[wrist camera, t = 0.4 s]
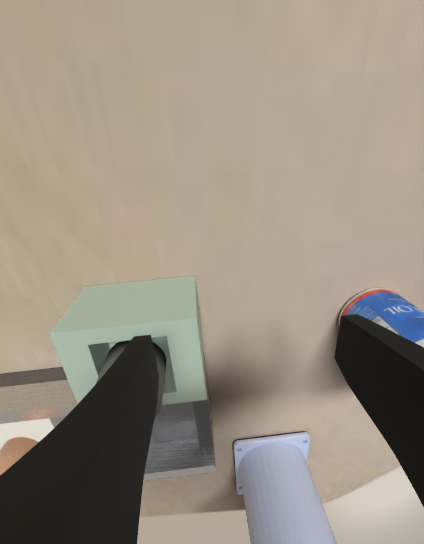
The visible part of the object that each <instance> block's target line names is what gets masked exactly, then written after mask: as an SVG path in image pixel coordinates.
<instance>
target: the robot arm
mask: <svg viewBox="0 0 424 544" xmlns="http://www.w3.org/2000/svg"><path fill="white" fill-rule="evenodd" d="M334 358H335V360H336V362H337V364H338V366H339V368H340V370H341V372H342V374H343V376H344V378H345V380H346V382H347V383H348V385H349V386H350V388H351V390H352V391H353V393H354V394H355V396H356V397H357V399H358V400H359V402H360V403H361V404H362V406H363V407H364V409H365V410H366V412H367V413H368V415H369V416H370V418H371V419H372V421H373V422H374V424H375V425H376V427H377V428H378V430H379V431H380V433H381V434H382V435H383V437H384V438H385V440H386V441H387V443H388V445H389V446H390V448H391V449H392V451H393V452H394V454H395V456H396V457H397V459H398V461H399V463H400V465H401V466H402V468H403V470H404V471H405V473H406V475H407V477H408V479H409V480H410V482H411V484H412V486H413V488H414V489H415V491H416V493H417V495H418V497H419V499H420V501H421V503H422V505H423V507H424V347H422V346H420V345H418V344H416V343H414V342H412V341H410V340H408V339H406V338H404V337H402V336H400V335H398V334H396V333H395V332H393V331H391V330H389V329H387V328H385V327H383V326H381V325H379V324H377V323H375V322H373V321H371V320H369V319H367V318H365V317H362V316H360V315H358V314H353V315H343V316H341V320H340V326H339V332H338V339H337V345H336V351H335V357H334ZM158 386H159V373H158V368H157V363H156V358H155V353H154V348H153V343H152V338H151V335H143V336H134V337H133V338H132V339H131V341H130V342H129V343H128V345H127V346H126V347H125V348H124V350H123V351H122V352H121V354H120V355H119V356H118V358H117V359H116V360H115V361H114V363H113V364H112V365H111V366H110V368H109V369H108V370H107V371H106V372H105V374H104V375H103V376H102V377H101V379H100V380H99V381H98V382H97V383H96V384H95V386H94V387H93V388H92V389H91V390H90V391H89V392H88V393H87V395H86V396H85V397H84V398H83V399H82V400H81V401H80V402H79V403H78V405H77V406H76V407H75V408H74V409H73V410H72V411H71V412H70V413H69V414H68V415H67V416H66V417H65V418H64V419H63V420H62V421H61V422H60V423H59V424H58V425H57V426H56V427H55V428H54V429H53V430H52V431H51V432H49V433H48V434H47V435H46V436H45V437H44V438H43V439H42V440H41V441H40V442H38V443H37V444H36V445H35V446H34V447H33V448H32V449H30V450H29V451H28V452H27V453H26V454H25V455H23V456H22V457H21V458H20V459H19V460H18V461H17V462H15V463H14V464H13V465H12V466H11V467H10V468H8V469H7V470H6V471H5V472H4V473H2V474H1V475H0V544H137V535H138V525H139V515H140V505H141V495H142V486H143V479H144V473H145V467H146V461H147V456H148V451H149V445H150V440H151V435H152V429H153V424H154V418H155V413H156V407H157V400H158ZM309 442H310V436H309V434H308V433H307V432H302V433H294V434H286V435H277V436H269V437H261V438H253V439H245V440H238V441H235V442H234V457H235V472H236V487H237V494H239V495H244V502H245V508H246V515H247V521H248V527H249V534H250V541H251V544H337V542H336V540H335V537H334V534H333V532H332V529H331V526H330V524H329V521H328V518H327V516H326V513H325V510H324V507H323V505H322V502H321V499H320V497H319V494H318V491H317V489H316V486H315V483H314V481H313V478H312V475H311V473H310V470H309V467H308V465H307V458H308V450H309Z"/></svg>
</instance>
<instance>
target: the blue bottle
mask: <svg viewBox="0 0 424 544" xmlns="http://www.w3.org/2000/svg"><path fill="white" fill-rule="evenodd" d="M353 314H358V315H360V316H362V317H365V318H367V319H369V320H371V321H373V322H375V323H377V324H379V325H381V326H383V327H385V328H387V329H389V330H391V331H393V332H395V333H396V334H398V335H400V336H402V337H404V338H406V339H408V340H410V341H412V342H414V343H416V344H418V345H420V346H422V347H424V312H423V311H421V310H420V309H418V308H417V307H415V306H414V305H412V304H411V303H410V302H408V301H407V300H405V299H404V298H402V297H401V296H400V295H398V294H396V293H395V292H393V291H391V290H388V289H384V288H373V289H369V290H365V291H363V292H361V293H359V294H357V295H355V296H354V297H353V298H352V299H350V300H349V301H348V302H347V303H346V305H345V306H344V307H343V309H342V311H341V313H340V316H339V326H340V320H341V316H343V315H353Z"/></svg>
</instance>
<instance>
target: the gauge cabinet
mask: <svg viewBox="0 0 424 544" xmlns="http://www.w3.org/2000/svg"><path fill="white" fill-rule="evenodd" d="M143 335H151V338H152V342H154V343H155V344H157V345H158V346H159V347H160V348H161V349H162V350H163V352H164V353H165V356H166V360H167V362H166V372H165V381H164V390H163V398H162V405H167V404H175V403H184V402H192V401H201V400H206V385H205V369H204V354H203V341H202V332H201V323H200V315H199V306H198V297H197V289H196V280H195V276H185V277H175V278H165V279H155V280H145V281H135V282H125V283H115V284H106V285H96V286H86V287H85V288H84V289H83V290H82V292H81V293H80V294H79V295H78V297H77V298H76V299H75V301H74V302H73V303H72V305H71V306H70V307H69V308H68V310H67V311H66V312H65V314H64V315H63V316H62V317H61V319H60V320H59V321H58V323H57V324H56V325H55V326H54V328H53V329H52V330H51V332H50V333H49V336H50V338H51V340H52V343H53V345H54V348H55V350H56V352H57V355H58V357H59V360H60V362H61V364H62V367H63V369H64V372H65V374H66V377H67V379H68V381H69V384H70V386H71V389H72V391H73V393H74V396H75V398H76V401H77V403H79V402H80V401H81V400H82V399H83V398H84V397H85V396H86V395H87V393H88V392H89V391H90V390H91V389H92V388H93V387H94V386H95V384H96V382H97V380H98V377H99V375H100V372H101V370H102V367H103V365H104V362H105V360H106V357H107V355H108V353H109V351H110V349H111V348H112V347H113V346H114V345H115V344H116V343H118V342H120V341H127V340H131V339H132V338H133V337H134V336H143Z"/></svg>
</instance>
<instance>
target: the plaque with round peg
mask: <svg viewBox="0 0 424 544" xmlns="http://www.w3.org/2000/svg"><path fill="white" fill-rule="evenodd" d="M64 418H65V416H64V417H56V418H47V419H39V420H30V421H22V422H13V423H5V424H0V475H1V474H2V473H4V472H5V471H6V470H7V469H8V468H10V467H11V466H12V465H13V464H14V463H15V462H17V461H18V460H19V459H20V458H21V457H22V456H23V455H25V454H26V453H27V452H28V451H29V450H30V449H32V448H33V447H34V446H35V445H36V444H37V443H38V442H40V441H41V440H42V439H43V438H44V437H45V436H46V435H47V434H48V433H49V432H51V431H52V430H53V429H54V428H55V427H56V426H57V425H58V424H59V423H60V422H61V421H62V420H63V419H64Z"/></svg>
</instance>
